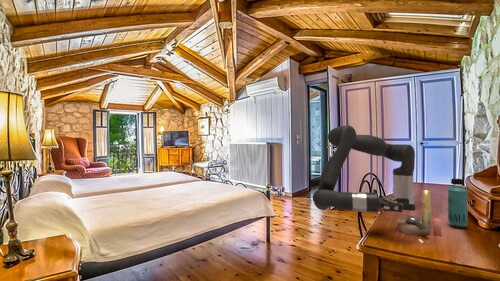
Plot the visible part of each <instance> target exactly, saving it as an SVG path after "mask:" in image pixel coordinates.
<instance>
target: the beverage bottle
mask: <svg viewBox="0 0 500 281" xmlns="http://www.w3.org/2000/svg"><path fill="white" fill-rule="evenodd" d="M450 184H451V186H450V187H448V188H447V192H448V193H447V204H448V205H447V207H448V209H447V215H448V216H447V220H448V221H447V222H448V223H449V224H451V225H452V226H453V225H454V226H456V227H467V226H468V224H469V217H468V216H469V215H468V213H469V209H468V189H466V188H465V187H463V186H464V185H465V182H464V179H462V178H451V179H450ZM455 185H457V186H455ZM462 185H463V186H462Z"/></svg>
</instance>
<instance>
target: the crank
mask: <svg viewBox="0 0 500 281" xmlns="http://www.w3.org/2000/svg"><path fill="white" fill-rule="evenodd" d="M404 219H405V222H406V223H409V224H415V225H418V226H420V227H422V228H424V229H426V230H432V191H431V190H430V189H421V218H420V216H415V215H406V216H405V218H404Z"/></svg>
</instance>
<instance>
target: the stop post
mask: <svg viewBox="0 0 500 281" xmlns="http://www.w3.org/2000/svg"><path fill="white" fill-rule="evenodd" d="M433 235H434V236H436V237H441V236H442V219H441V218H438V217H434V218H433Z"/></svg>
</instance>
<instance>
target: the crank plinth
mask: <svg viewBox="0 0 500 281" xmlns="http://www.w3.org/2000/svg"><path fill="white" fill-rule="evenodd" d="M396 230H397V231H399V232H401V233H403V234H407V235H409V236H414V237H415V236H416V237H417V236H419V237H424V236H429V235H430V234H431V233H430V230H426V229H424V228H422V227H420V226H418V225H415V224H409V223H406V222H405V218H400V219H397V221H396Z"/></svg>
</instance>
